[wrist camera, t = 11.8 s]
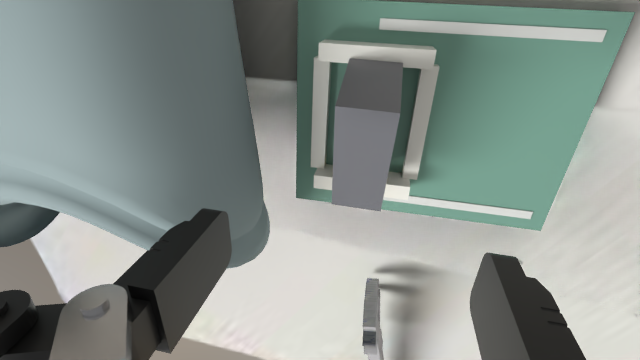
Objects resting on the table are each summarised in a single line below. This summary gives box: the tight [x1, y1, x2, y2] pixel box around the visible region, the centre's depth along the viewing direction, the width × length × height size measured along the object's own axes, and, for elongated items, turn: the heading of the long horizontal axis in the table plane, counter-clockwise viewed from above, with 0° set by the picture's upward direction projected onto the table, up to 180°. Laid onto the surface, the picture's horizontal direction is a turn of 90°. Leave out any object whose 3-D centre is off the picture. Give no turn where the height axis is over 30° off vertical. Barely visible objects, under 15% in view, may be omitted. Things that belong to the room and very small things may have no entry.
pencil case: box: [0, 0, 270, 268], centre depth 21 cm, size 22×19×13 cm
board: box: [296, 0, 635, 231], centre depth 22 cm, size 18×14×3 cm
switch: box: [332, 58, 403, 211], centre depth 20 cm, size 3×5×8 cm
